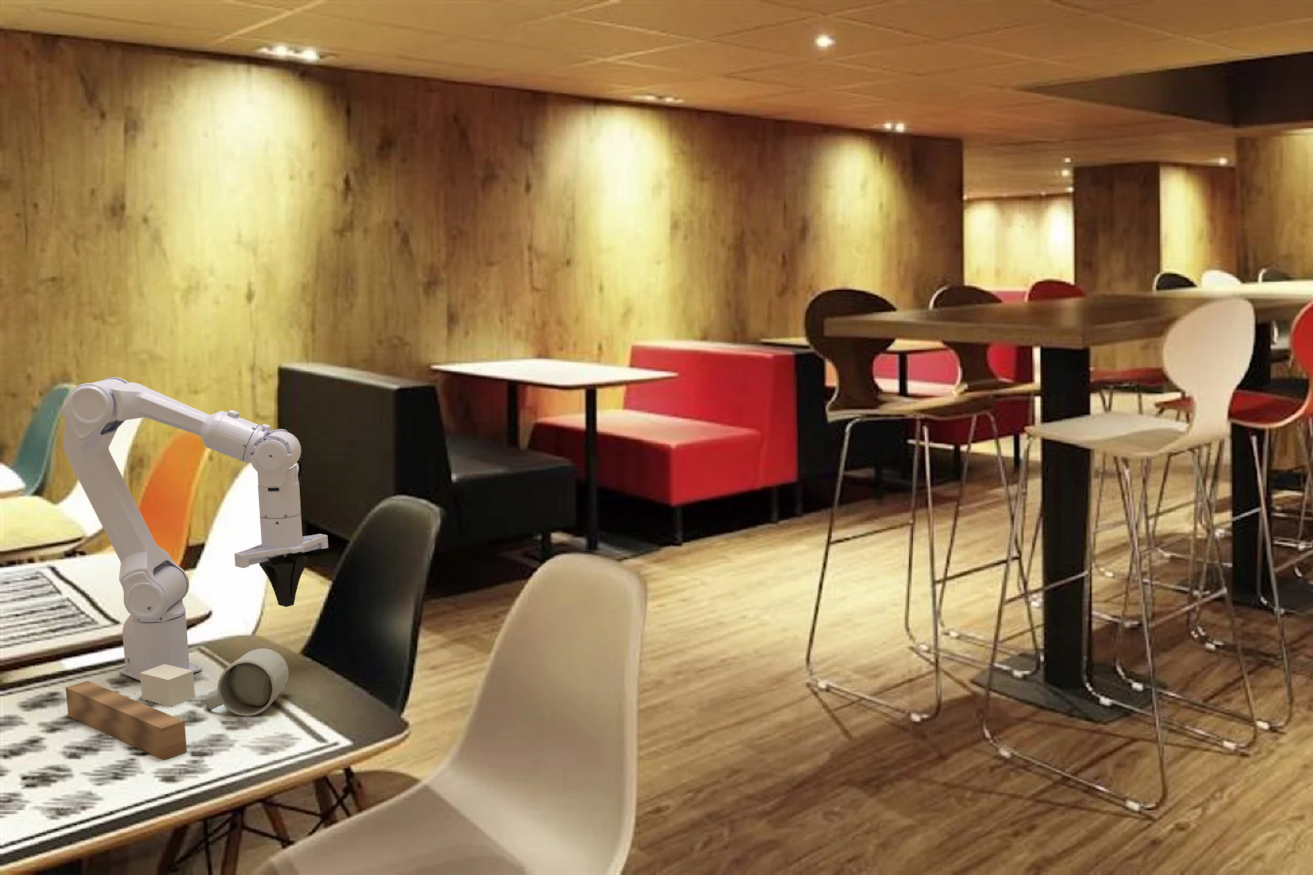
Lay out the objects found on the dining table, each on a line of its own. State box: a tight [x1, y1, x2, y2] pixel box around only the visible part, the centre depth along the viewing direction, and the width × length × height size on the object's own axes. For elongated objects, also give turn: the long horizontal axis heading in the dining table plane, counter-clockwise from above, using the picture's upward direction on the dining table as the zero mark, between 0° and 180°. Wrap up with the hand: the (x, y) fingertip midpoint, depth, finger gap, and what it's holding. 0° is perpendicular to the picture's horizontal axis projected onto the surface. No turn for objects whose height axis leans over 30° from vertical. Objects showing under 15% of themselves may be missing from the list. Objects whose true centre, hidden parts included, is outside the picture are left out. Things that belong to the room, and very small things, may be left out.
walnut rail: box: [65, 680, 188, 761], centre depth 150 cm, size 24×3×4 cm, turn 52°
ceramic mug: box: [203, 647, 289, 717], centre depth 159 cm, size 11×8×8 cm
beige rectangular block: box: [139, 664, 196, 708], centre depth 162 cm, size 6×4×4 cm, turn 60°
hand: (286, 604), depth 172 cm, fingers closed
